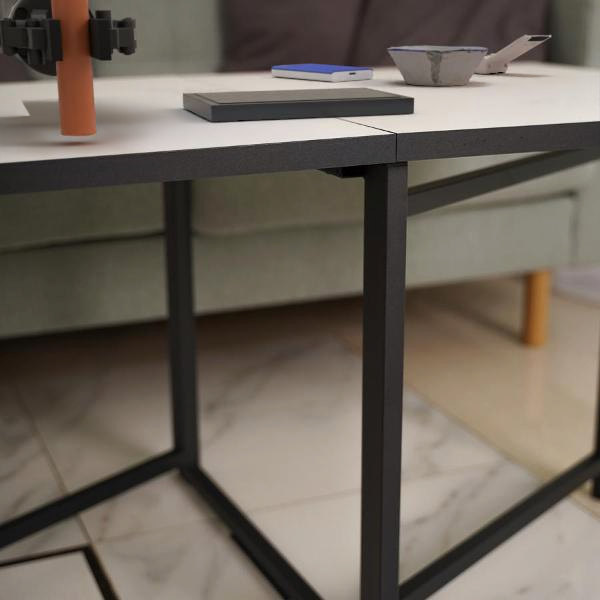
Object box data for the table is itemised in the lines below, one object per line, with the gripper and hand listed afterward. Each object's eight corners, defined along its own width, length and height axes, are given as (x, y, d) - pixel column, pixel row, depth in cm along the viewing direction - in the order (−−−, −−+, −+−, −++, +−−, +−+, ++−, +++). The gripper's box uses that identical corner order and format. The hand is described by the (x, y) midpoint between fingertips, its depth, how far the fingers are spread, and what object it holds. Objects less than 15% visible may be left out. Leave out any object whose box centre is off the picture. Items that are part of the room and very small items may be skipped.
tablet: (211, 122, 81) (211, 104, 81) (183, 108, 92) (182, 92, 92) (414, 113, 88) (414, 97, 87) (364, 101, 98) (365, 86, 98)
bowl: (504, 82, 121) (507, 45, 119) (451, 89, 112) (453, 49, 110) (423, 78, 129) (425, 42, 127) (367, 84, 120) (368, 46, 118)
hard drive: (271, 65, 131) (331, 70, 122) (312, 63, 136) (373, 67, 127) (271, 77, 131) (331, 82, 122) (312, 73, 136) (373, 79, 128)
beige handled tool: (528, 34, 127) (403, 29, 146) (524, 78, 129) (401, 67, 148) (555, 34, 131) (430, 29, 149) (551, 76, 133) (428, 66, 151)
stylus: (62, 136, 67) (50, -36, 64) (59, 132, 70) (47, -34, 66) (98, 135, 68) (87, -35, 65) (94, 131, 71) (83, -34, 67)
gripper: (139, 72, 87) (195, 93, 66) (-35, 75, 82) (-35, 99, 61) (135, -11, 84) (191, -17, 63) (-45, -13, 79) (-48, -20, 58)
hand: (80, 40), depth 62 cm, fingers closed on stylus, 3 cm apart
